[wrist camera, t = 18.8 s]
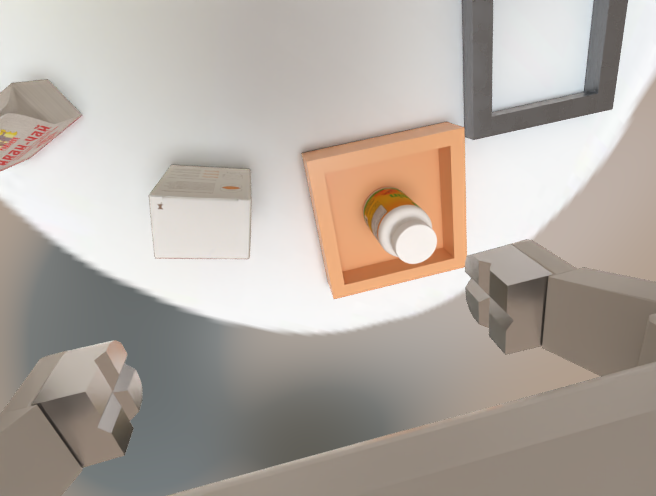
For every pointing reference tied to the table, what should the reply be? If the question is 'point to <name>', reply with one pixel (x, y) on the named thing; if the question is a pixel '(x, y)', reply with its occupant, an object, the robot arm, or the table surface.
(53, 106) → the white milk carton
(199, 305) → the table surface
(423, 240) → the supplement bottle
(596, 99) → the dark grey square frame
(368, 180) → the tray
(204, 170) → the small box
